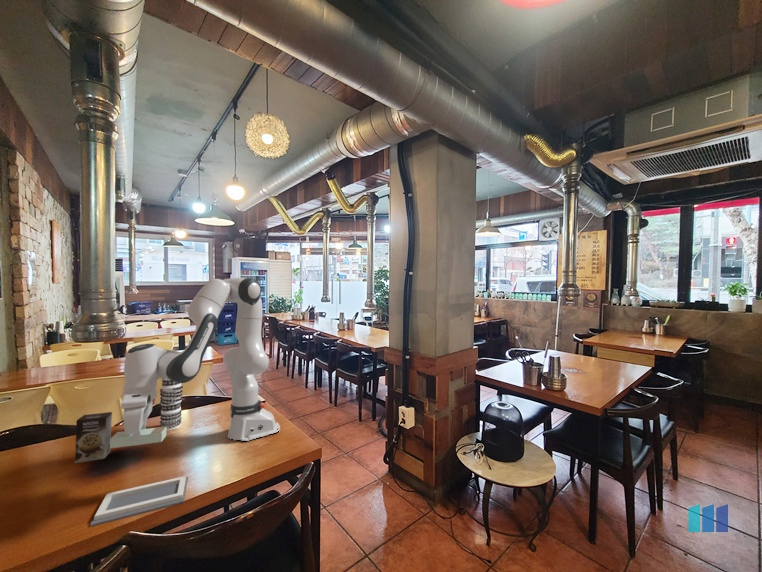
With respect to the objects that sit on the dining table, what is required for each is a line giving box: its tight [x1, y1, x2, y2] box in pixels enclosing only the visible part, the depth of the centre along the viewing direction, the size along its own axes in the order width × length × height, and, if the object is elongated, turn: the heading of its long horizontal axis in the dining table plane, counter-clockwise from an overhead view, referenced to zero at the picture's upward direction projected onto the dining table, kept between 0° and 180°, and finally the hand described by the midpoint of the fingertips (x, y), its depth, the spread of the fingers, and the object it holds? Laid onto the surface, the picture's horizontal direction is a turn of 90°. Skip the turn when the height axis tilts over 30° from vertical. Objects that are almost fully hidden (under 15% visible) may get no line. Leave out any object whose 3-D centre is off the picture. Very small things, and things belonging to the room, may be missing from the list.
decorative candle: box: [159, 378, 184, 431], centre depth 149 cm, size 9×9×25 cm
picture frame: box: [89, 475, 189, 527], centre depth 98 cm, size 22×14×2 cm, turn 117°
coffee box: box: [74, 411, 113, 464], centre depth 122 cm, size 9×6×16 cm
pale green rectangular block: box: [110, 426, 168, 449], centre depth 104 cm, size 5×14×3 cm, turn 109°
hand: (139, 435), depth 104 cm, fingers closed on pale green rectangular block, 5 cm apart
